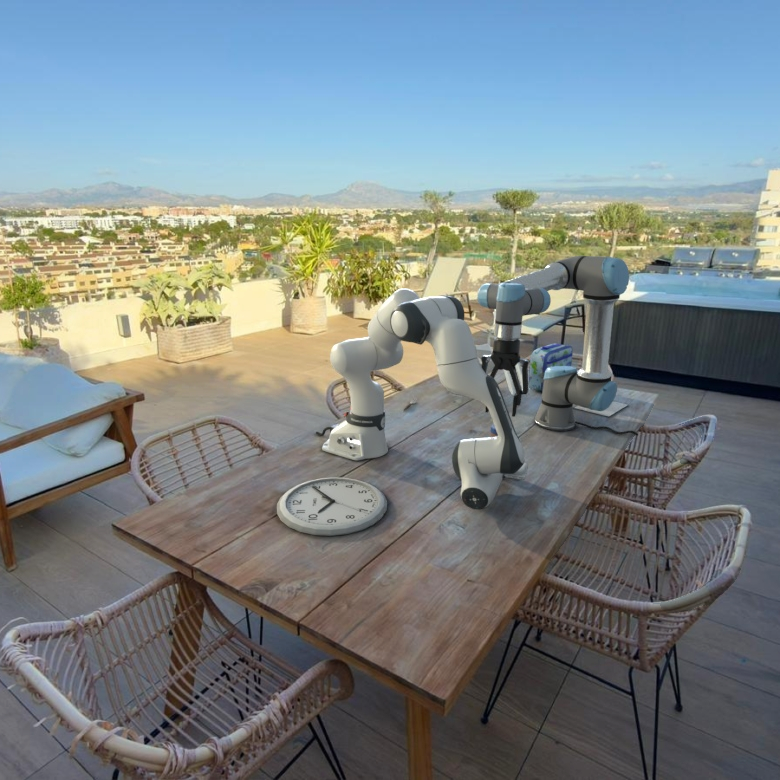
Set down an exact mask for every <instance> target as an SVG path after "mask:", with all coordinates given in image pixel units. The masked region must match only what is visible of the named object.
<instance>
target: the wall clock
mask: <svg viewBox="0 0 780 780" xmlns="http://www.w3.org/2000/svg"><path fill="white" fill-rule="evenodd" d="M387 509H388V500H387V498H386V496H385V494H384V493H383V492H382V491H381V490H380V489H379V488H377V487H376V486H374V485H372V484H371V483H369V482H365V481H362V480H359V479H355V478H349V477H338V476H337V477H335V476H333V477H332V476H331V477H322V478H317V479H312V480H307V481H305V482H302V483H299V484H297V485H295V486H293V487H292V488H290V489H288V490H287V491H286V492H285V493H284V494H283V495H281V496H280V498H279V499H278V502H277V503H276V515H277V517H278V518H279V520H280V521H281V522H282V523H283V524H285V525H286V526H287V527H288V528H290V529H293V530H295V531H297V532H299V533H303V534H308V535H312V536H327V537H328V536H329V537H331V536H332V537H333V536H342V535H350V534H352V533H356V532H361V531H363V530H366V529H368V528H369V527H372V526H373V525H375V524H376V523H378V522H379V521H380V520H381V519H382V518H383V517H384V516H385V514H386V512H387Z"/></svg>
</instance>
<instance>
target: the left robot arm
mask: <svg viewBox="0 0 780 780" xmlns="http://www.w3.org/2000/svg"><path fill="white" fill-rule="evenodd" d="M367 335H368V336H366V337H360V338H352V339H351V338H350V339H346V340H343V341H341V342H338V343H336V344H334V345H333V346H332V348H331V350H330V354H329V360H330V364H331V366H332V368H333V370H334V371H335V372H336V373H338V374H339V375H341V377H343V379H344V380H345V381H346V384H347V385H348V389H349V396H350V397H349V398H350V407H349V409H348V410H346V411H345V413H343V418H345V419H344V420H343V421H341V422H340V423H335V424H333V425H331V426H325V428H323V429H322V432H319V431H315V434H316V435H318V436H320V437H322V436H324V435H325V433H326V432H327V430H329V437H328V439H327V440H325V442H324V443H323V444H322V448H321V449H322V451H323V452H326V453H328V454H333V455H336V456H339V457H342V458H345V459H349V460H352V461H356V462H357V461H362V460H367V459H375V458H379V457H383V456H384V455H386V454H388V451H389V447H388V443H387V440H386V439H387V438H386V432H385V427H386V411H385V390H384V388H383V386H382V385H381V384H380V383H379V382H377V381H376V380H375V381H374V380H372V376H371V375H372V374H371V373H372V372H374V371H375V372H376V371H381V370H386V369H389V368H392V367H394V366H397V365H399V364H400V363H401V362H402V360H403V358H404V347H403V344H402V342H407V343H413V344H417V345H423V344H424V343H425V342H427V343H429V344H430V345H431V347H432V349H433V352H434V359H435V364H436V369H437V375H438V378H439V381H440V383H441V385H442V386H443V387H444V388H445V389H446V390H447V391H449V392H450V393H452V394H455V395H457V396H460V397H465V398H470V399H472V400H475V401H478V402H480V403H482V404H483V405H484V406H485V407H486V406H487V408H488V409H489V412H488V413H489V414H490V417H491V420H492V423H493V424H494V426H495V428H496V431H497V434H498V436H495V437H491V436H486V437H473V438H471V437H470V438H464V439H460V440H458V442H457V443H456V445H455V447H454V449H453V451H452V456H451V462H452V468H453V471H454V474H455V475H456V477H457V479H458V480H459V481H460V482H461V488H460V499H461V501H462V503H463V504H464V505H465V506H466V507H468V508H470V509H472V510H483V509H485V508H487V507H488V506H490V505H491V503H492V502H493V501H494V500H495V497H496V495H497V493H498V489H499V488H500V487H501V484H502V481H503V480H506V481H510V482H516V483H517V482H519V483H520V482H521V481H525V480H526V477H527V474H528V465H529V464H528V463H527V462H526V461H525V450H524V447H523V445H522V442H521V441H520V438H519V436H518V434H517V431H516V428H515V426H514V424H513V421H512V418H511V415H510V412H509V410H508V407H507V405H506V402H505V399H504V396H503V394H502V392H501V388H500V387H499V384H498V382H497V381H496V378H495V377H494V378H493V377H492V376H490V374H486V373H485V372H484V370H483V369H482V367H481V365H480V363H479V359H478V354H477V349H476V346H477V345H476V342H475V340H474V336H473V332H472V331H471V328H470V326H469V323H467V321H466V320H465V308H464V306H463V303H462V302H461V301H460V300H459V299H458V298H457V297H455V296H453V295H452V296H451V295H444V294H443V295H437V296H427V297H422V298H420V296H419V295H418V294H417V293H416V292H415V291H414V290H412V289H410V288H399V289H397V290H396V291H394V292H393V293H391V295H389V296H388V297H387V298H386V299H385V300H384V301H383V302H382V304H381V305H380V306H379V308H378V309H377V311H376V312H375V313H374V315H373V316H372V318H371V319H370V321H369V322H368V324H367Z"/></svg>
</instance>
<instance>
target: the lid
mask: <svg viewBox="0 0 780 780" xmlns="http://www.w3.org/2000/svg"><path fill="white" fill-rule="evenodd" d="M491 433H493V434H496V435H498V434H497V431H496V428H495V426H494V423H493V424H491V425H490V434H491Z"/></svg>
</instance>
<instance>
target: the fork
mask: <svg viewBox="0 0 780 780" xmlns="http://www.w3.org/2000/svg"><path fill="white" fill-rule="evenodd" d="M418 398H419V396H415V395H413V396H412V398H411V399H410V402H409V403H408V404H407V405H406V406H405V407H404V409H403V411H406V410H407V409H409V408H410V407H411V405H413V404H416V403H417V402H418Z"/></svg>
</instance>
